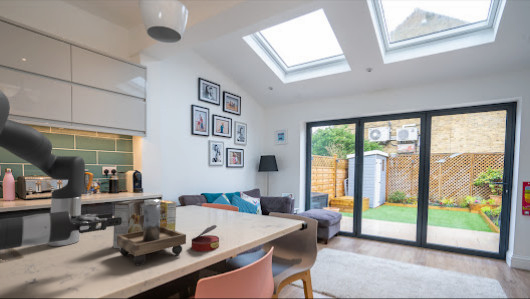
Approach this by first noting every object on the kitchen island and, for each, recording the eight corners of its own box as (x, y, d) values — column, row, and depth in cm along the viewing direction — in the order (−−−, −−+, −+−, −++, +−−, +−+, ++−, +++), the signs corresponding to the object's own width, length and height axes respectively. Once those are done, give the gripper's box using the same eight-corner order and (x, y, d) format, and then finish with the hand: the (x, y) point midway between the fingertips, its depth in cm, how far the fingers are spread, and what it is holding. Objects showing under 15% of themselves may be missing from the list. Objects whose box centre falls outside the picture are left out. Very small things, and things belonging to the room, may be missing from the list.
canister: (140, 239, 84) (141, 200, 84) (155, 236, 87) (156, 198, 88) (146, 242, 80) (148, 201, 81) (162, 239, 84) (163, 200, 85)
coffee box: (130, 240, 99) (131, 199, 100) (144, 241, 98) (146, 200, 99) (112, 248, 90) (113, 203, 91) (127, 249, 89) (129, 203, 90)
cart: (116, 254, 83) (117, 235, 83) (163, 243, 95) (164, 226, 95) (134, 268, 72) (135, 245, 73) (185, 253, 84) (186, 234, 84)
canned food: (200, 265, 86) (187, 242, 84) (194, 253, 95) (182, 231, 93) (228, 246, 91) (217, 223, 88) (220, 236, 100) (210, 215, 97)
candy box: (154, 239, 102) (155, 200, 103) (164, 236, 105) (165, 199, 106) (165, 243, 96) (166, 202, 97) (175, 240, 99) (176, 201, 100)
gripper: (51, 217, 60) (125, 208, 72) (43, 210, 70) (109, 203, 81) (49, 249, 59) (124, 235, 71) (41, 237, 69) (108, 227, 81)
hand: (116, 218), depth 76 cm, fingers open, 8 cm apart
